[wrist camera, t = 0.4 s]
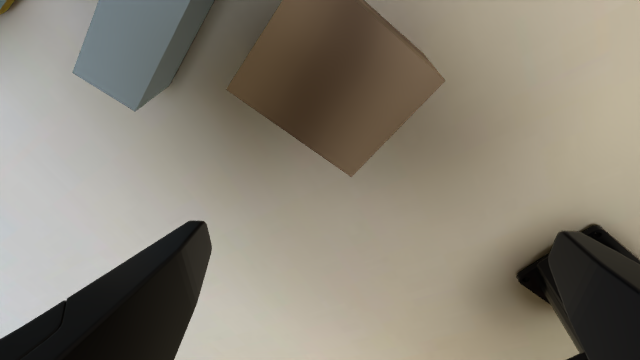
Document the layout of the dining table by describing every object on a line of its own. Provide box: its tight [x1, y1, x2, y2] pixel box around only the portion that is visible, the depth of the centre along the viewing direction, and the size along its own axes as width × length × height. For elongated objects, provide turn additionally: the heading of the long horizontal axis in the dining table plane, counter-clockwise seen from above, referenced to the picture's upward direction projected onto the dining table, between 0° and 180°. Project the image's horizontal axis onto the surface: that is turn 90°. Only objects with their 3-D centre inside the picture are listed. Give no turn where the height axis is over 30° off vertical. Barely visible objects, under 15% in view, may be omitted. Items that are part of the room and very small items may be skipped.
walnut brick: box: [226, 0, 445, 177], centre depth 17 cm, size 7×6×5 cm
